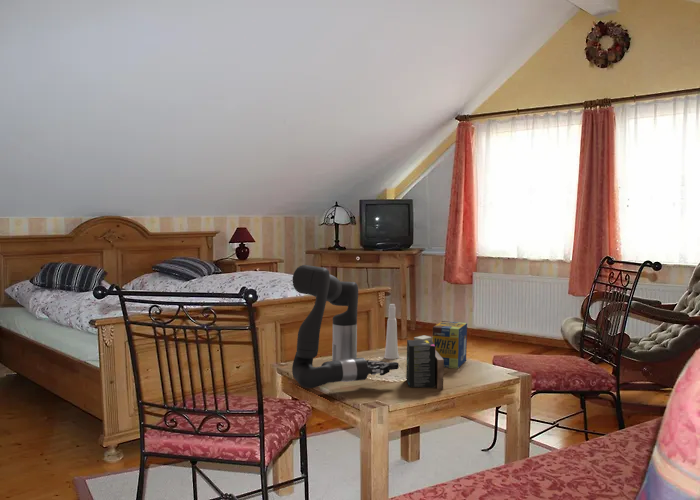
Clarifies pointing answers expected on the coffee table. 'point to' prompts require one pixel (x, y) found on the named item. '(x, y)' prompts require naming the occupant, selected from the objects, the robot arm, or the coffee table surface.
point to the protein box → (451, 342)
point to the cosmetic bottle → (391, 335)
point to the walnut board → (439, 370)
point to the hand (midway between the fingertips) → (397, 365)
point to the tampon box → (420, 363)
